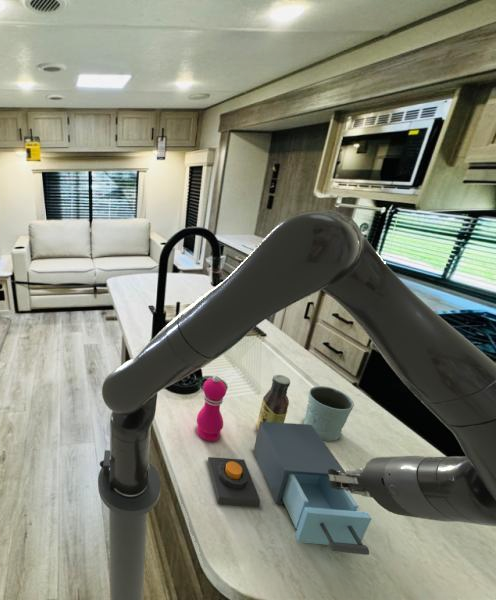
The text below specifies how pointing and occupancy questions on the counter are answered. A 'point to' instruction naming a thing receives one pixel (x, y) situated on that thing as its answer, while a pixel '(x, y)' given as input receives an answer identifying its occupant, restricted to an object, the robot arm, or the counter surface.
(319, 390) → the embossed plant pot
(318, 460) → the grey drawer cabinet
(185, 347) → the robot arm
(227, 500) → the block
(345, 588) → the counter surface
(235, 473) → the button
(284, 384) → the sauce bottle
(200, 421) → the pepper mill
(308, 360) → the counter surface
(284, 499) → the light blue drawer
